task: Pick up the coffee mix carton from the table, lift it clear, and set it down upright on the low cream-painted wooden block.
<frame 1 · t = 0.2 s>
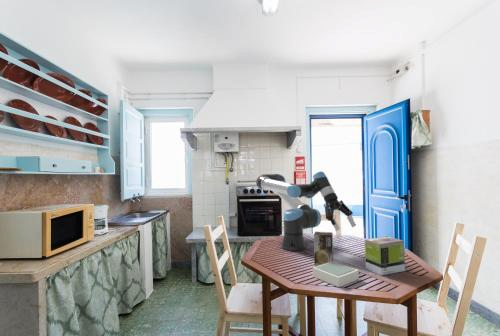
hand: (346, 228, 154), 15 cm above the table, tool tilted 35°, fingers open, 13 cm apart
block: (335, 277, 123), on the table
tea box: (384, 270, 132), on the table
coffee box: (323, 265, 140), on the table
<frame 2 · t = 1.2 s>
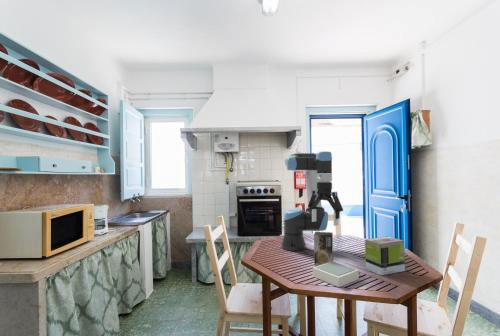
hand: (324, 223, 140), 21 cm above the table, tool pointing down, fingers open, 13 cm apart
nothing on the table moved.
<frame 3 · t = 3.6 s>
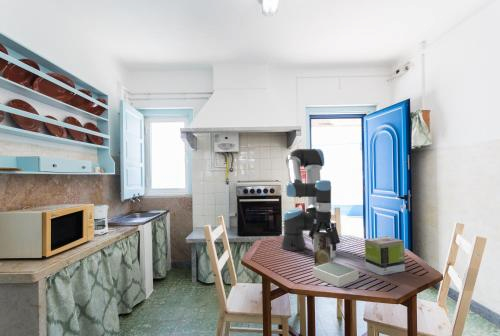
hand: (323, 254, 140), 5 cm above the table, tool pointing down, fingers closed on coffee box, 11 cm apart
coffee box: (323, 265, 140), on the table, touching gripper
everything else where it was.
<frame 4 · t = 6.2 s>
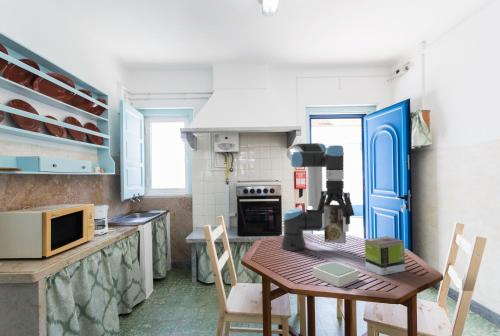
hand: (335, 229, 123), 22 cm above the table, tool pointing down, fingers closed on coffee box, 11 cm apart
coffee box: (335, 241, 123), point 16 cm above the table, touching gripper
everything else where it was.
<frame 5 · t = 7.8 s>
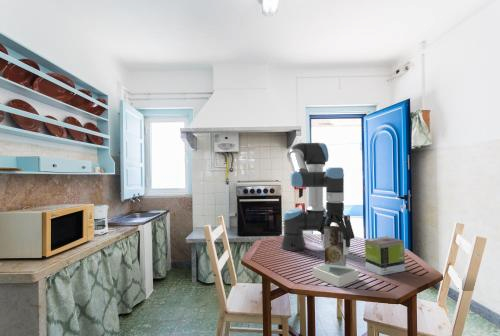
hand: (335, 251, 123), 12 cm above the table, tool pointing down, fingers closed on coffee box, 11 cm apart
coffee box: (335, 263, 123), point 6 cm above the table, touching gripper
everything else where it was.
when the fingers open (10 cm above the table, at t = 9.2 s): coffee box stays where it is, resting on block.
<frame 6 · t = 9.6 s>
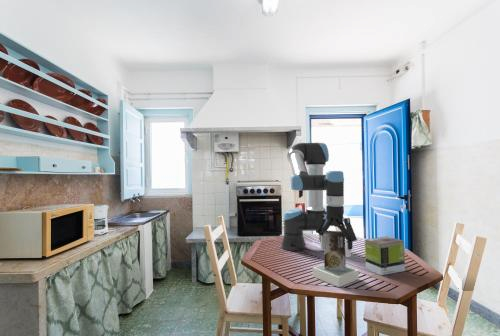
hand: (335, 252, 123), 11 cm above the table, tool pointing down, fingers open, 13 cm apart
coffee box: (334, 268, 123), point 4 cm above the table, touching block
everything else where it was.
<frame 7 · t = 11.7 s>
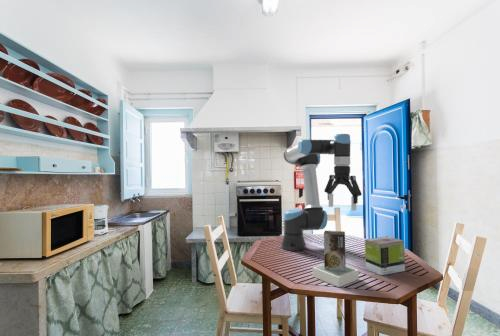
hand: (341, 208, 136), 29 cm above the table, tool pointing down, fingers open, 13 cm apart
nothing on the table moved.
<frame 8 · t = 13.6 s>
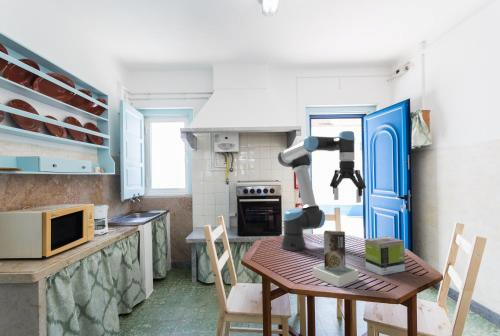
hand: (347, 201, 144), 32 cm above the table, tool pointing down, fingers open, 13 cm apart
nothing on the table moved.
at the end: coffee box inside the target area on the block (0.2 cm from its centre), point 4.0 cm above the block's base; coffee box tilted 0°; the gripper is holding nothing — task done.
